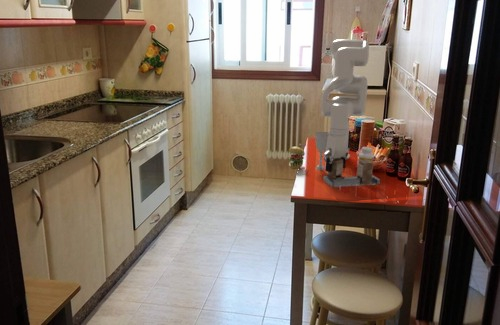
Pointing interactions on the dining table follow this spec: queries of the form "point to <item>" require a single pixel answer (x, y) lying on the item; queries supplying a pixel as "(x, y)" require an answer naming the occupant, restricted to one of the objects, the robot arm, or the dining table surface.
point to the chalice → (321, 146)
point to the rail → (349, 181)
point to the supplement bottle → (366, 154)
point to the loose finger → (336, 168)
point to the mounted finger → (365, 170)
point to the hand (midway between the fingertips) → (335, 169)
